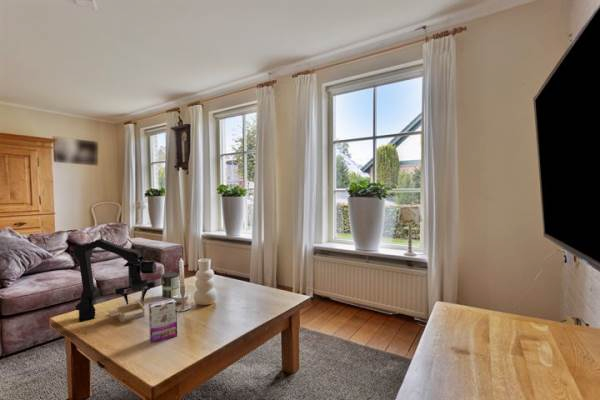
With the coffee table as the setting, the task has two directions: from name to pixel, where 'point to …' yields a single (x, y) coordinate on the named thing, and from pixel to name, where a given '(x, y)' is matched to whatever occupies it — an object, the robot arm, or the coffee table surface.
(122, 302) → the flap left
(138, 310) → the carton
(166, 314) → the candy bar box
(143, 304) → the flap far
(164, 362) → the coffee table surface
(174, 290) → the coffee can
